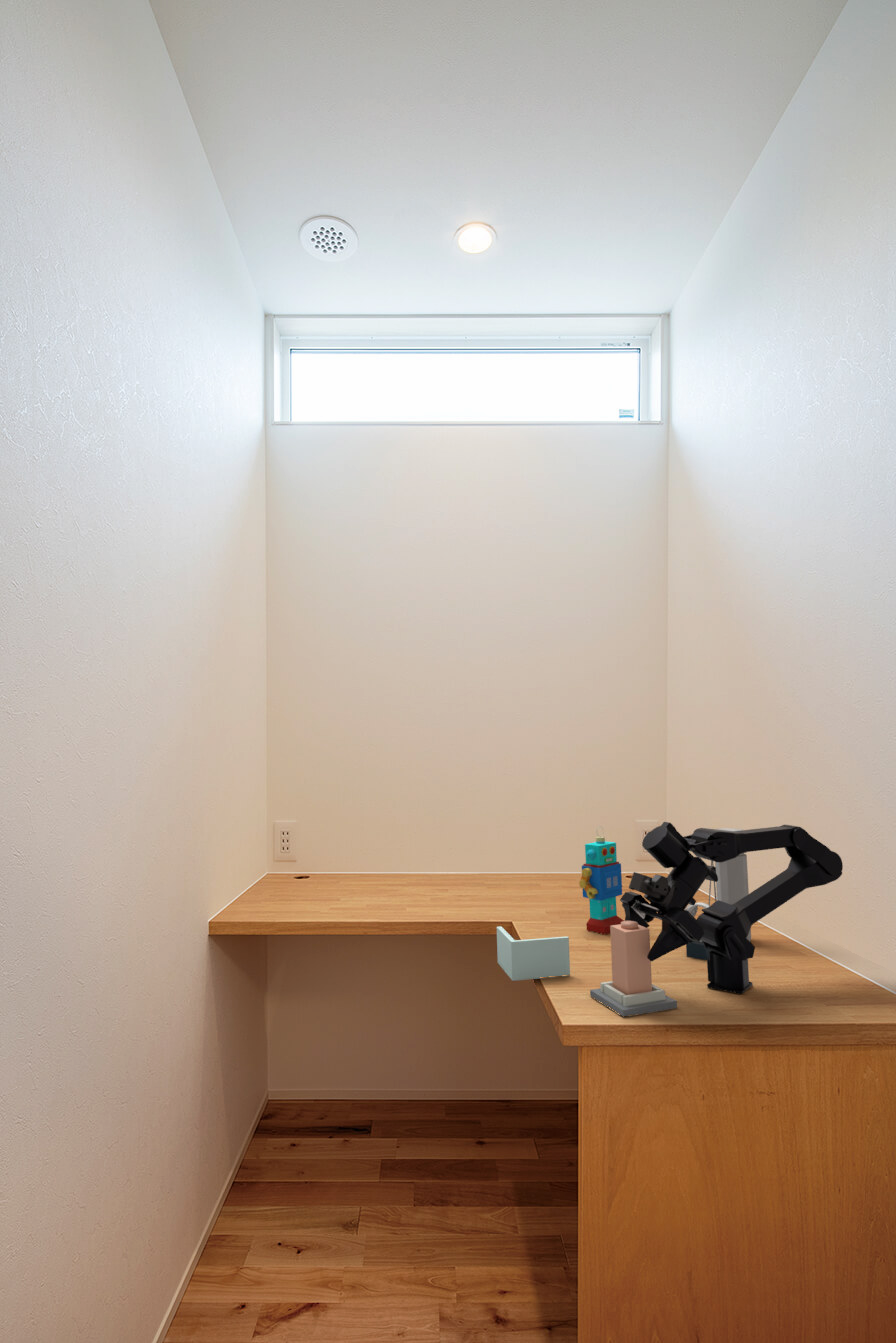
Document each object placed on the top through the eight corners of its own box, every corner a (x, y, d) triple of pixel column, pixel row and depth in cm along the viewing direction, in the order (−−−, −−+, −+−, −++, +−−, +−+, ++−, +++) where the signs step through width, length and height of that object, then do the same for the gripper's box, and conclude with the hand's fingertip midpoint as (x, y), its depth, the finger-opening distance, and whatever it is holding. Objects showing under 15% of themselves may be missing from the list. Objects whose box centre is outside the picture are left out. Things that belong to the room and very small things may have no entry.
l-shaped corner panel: (570, 975, 151) (568, 937, 152) (512, 980, 149) (511, 942, 149) (551, 958, 163) (550, 922, 163) (497, 962, 161) (496, 926, 161)
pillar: (636, 989, 139) (633, 918, 140) (652, 997, 134) (649, 924, 135) (612, 992, 137) (609, 921, 138) (628, 1001, 132) (625, 927, 133)
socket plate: (641, 988, 143) (640, 973, 143) (677, 1008, 132) (676, 992, 132) (590, 996, 139) (589, 981, 139) (623, 1017, 128) (622, 1001, 129)
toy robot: (600, 936, 179) (596, 829, 181) (580, 931, 183) (576, 827, 185) (629, 927, 186) (624, 825, 188) (609, 922, 191) (604, 823, 193)
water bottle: (755, 938, 173) (749, 829, 175) (747, 947, 167) (741, 833, 169) (715, 933, 179) (709, 827, 181) (705, 941, 172) (700, 831, 174)
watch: (688, 949, 167) (686, 898, 168) (724, 955, 161) (721, 903, 162) (677, 955, 163) (675, 903, 163) (714, 961, 157) (711, 908, 158)
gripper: (626, 849, 148) (579, 912, 144) (686, 864, 131) (634, 937, 126) (662, 885, 150) (617, 949, 146) (725, 905, 133) (676, 978, 128)
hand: (634, 952), depth 136 cm, fingers open, 9 cm apart
